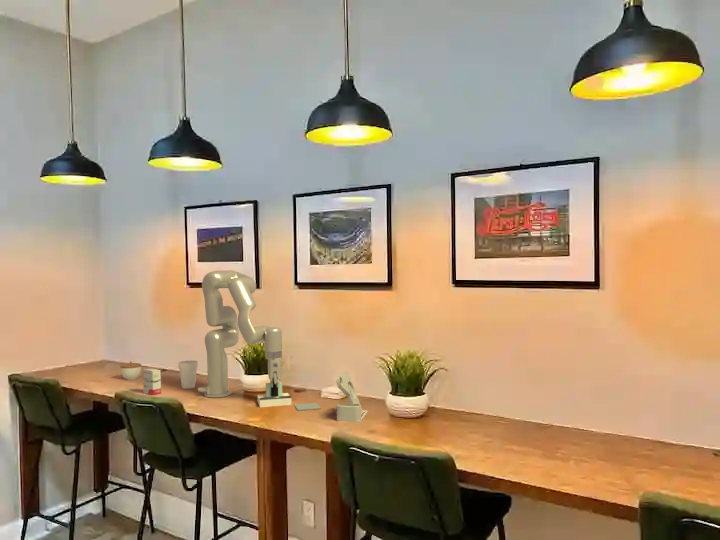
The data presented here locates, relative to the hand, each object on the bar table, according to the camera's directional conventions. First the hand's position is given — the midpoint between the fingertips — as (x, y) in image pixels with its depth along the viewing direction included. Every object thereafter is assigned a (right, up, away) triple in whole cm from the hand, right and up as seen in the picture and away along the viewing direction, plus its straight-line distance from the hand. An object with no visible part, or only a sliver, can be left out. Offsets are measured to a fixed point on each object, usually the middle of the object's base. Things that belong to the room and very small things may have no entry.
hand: (274, 395), depth 272 cm
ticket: (0, -4, 0) cm, 4 cm away
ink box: (-63, -4, +23) cm, 68 cm away
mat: (+16, -4, -8) cm, 18 cm away
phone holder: (+36, -4, -24) cm, 43 cm away
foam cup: (-49, -4, +36) cm, 61 cm away
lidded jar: (-88, -4, +61) cm, 107 cm away
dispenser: (0, -4, 0) cm, 4 cm away
